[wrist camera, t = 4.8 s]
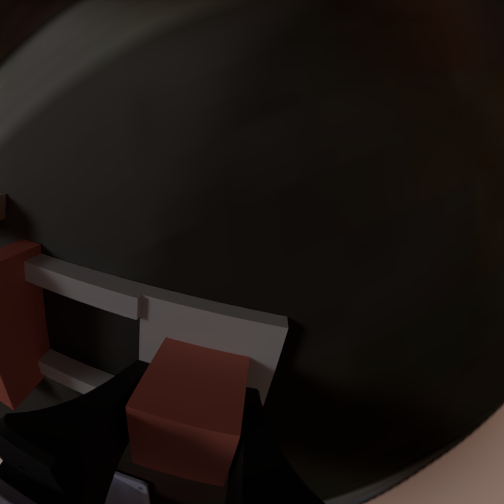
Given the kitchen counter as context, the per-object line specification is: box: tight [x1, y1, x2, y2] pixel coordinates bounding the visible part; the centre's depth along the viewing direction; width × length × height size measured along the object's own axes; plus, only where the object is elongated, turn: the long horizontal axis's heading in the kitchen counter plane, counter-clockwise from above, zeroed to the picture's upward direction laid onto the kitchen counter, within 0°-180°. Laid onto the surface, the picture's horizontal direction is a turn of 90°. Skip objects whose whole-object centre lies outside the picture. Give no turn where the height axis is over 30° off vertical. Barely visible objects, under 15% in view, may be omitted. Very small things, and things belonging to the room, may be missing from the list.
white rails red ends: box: [0, 239, 288, 486], centre depth 11 cm, size 8×14×5 cm, turn 78°
